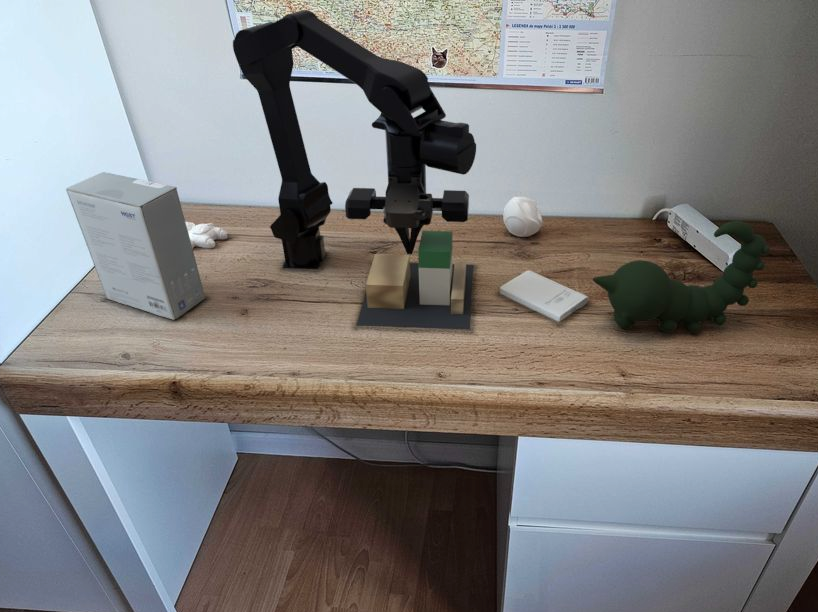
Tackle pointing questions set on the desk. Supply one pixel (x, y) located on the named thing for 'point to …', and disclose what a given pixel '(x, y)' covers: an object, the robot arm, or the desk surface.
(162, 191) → the hard drive box
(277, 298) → the desk surface
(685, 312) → the toy figurine
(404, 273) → the birch block
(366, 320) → the desk mat
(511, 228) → the white ball
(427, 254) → the block
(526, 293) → the hard drive
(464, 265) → the ash rail
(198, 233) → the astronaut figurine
